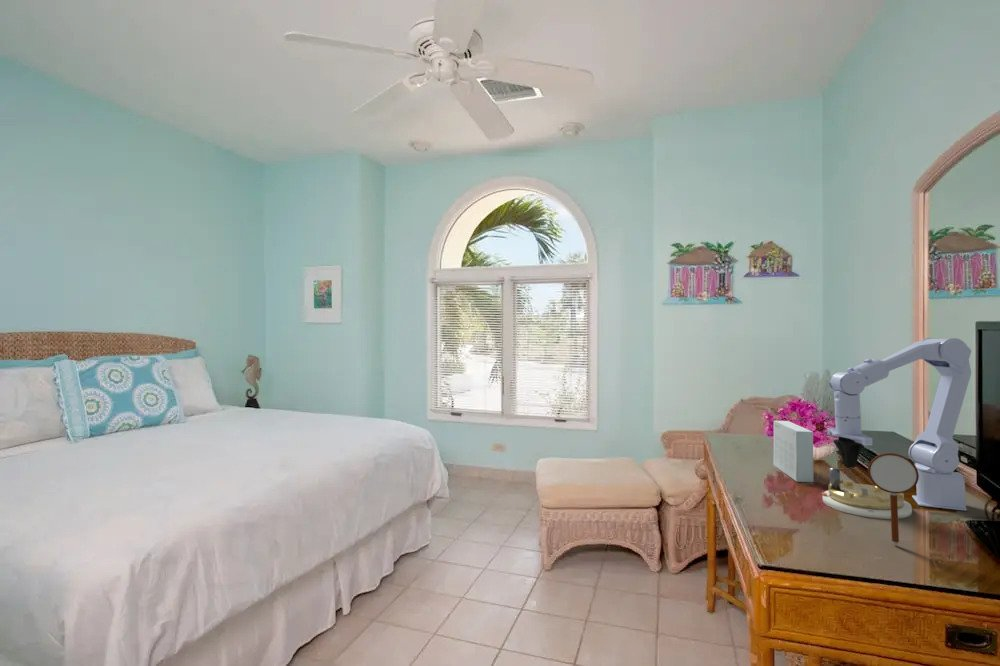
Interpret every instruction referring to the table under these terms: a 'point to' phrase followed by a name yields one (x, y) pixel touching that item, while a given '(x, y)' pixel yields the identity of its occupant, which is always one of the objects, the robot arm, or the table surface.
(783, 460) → the skincare box
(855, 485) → the brass round mechanism
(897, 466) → the magnifying glass
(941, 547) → the table surface
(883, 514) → the disc
